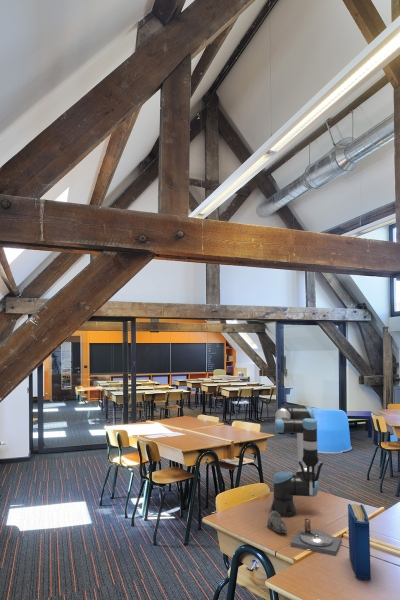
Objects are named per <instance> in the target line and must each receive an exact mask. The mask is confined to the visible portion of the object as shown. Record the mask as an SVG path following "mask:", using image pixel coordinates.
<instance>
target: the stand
mask: <svg viewBox="0 0 400 600" xmlns="http://www.w3.org/2000/svg"><path fill="white" fill-rule="evenodd" d="M303 531H304V530H298V531H297V532H296V534H295V535H294V537H293V538H292V539H291V541H290V547H291V546H293V547H292V548H295V547H297V548H296V549H300V548H301V550H305V549H310V550H311V552H314V553H315V552H316V553H320V554H325V555H329V556H335V557H336V556H337V555H338V552H339V550H340V547H341V545H342V541H343V540H342V539H343V538H341V537H338V536H333V535H331V536H332V537H333V543H332V544H331V545H329V546H323V547H319V546H312V545H308V544H306V543H304V542H302V541H301V539H300V533H301V532H303ZM310 550H309V551H310Z"/></svg>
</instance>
